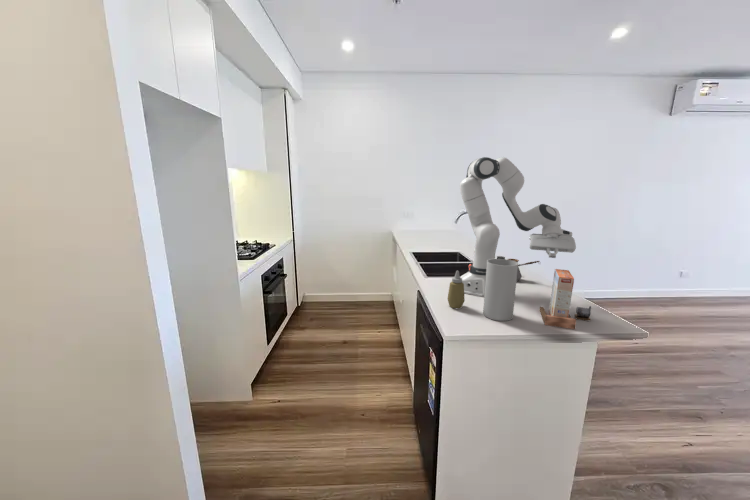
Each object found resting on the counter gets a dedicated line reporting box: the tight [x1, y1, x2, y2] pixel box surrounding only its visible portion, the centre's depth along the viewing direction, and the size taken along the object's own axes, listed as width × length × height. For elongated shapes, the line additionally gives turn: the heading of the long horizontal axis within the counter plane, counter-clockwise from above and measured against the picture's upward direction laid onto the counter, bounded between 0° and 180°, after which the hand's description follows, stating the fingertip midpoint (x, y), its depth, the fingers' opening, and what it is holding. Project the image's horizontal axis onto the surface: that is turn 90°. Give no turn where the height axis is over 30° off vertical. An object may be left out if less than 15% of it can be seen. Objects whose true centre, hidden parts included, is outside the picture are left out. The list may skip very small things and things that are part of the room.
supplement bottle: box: [496, 255, 506, 259], centre depth 199 cm, size 7×7×12 cm
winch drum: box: [573, 305, 592, 322], centre depth 133 cm, size 6×4×6 cm
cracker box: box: [548, 268, 575, 318], centre depth 132 cm, size 14×6×21 cm, turn 155°
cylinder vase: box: [482, 258, 519, 322], centre depth 135 cm, size 12×12×25 cm
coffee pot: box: [506, 258, 541, 282], centre depth 184 cm, size 21×12×15 cm, turn 42°
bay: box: [539, 306, 577, 330], centre depth 133 cm, size 11×16×4 cm
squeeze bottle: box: [447, 270, 466, 309], centre depth 146 cm, size 8×8×18 cm
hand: (552, 257), depth 151 cm, fingers closed
